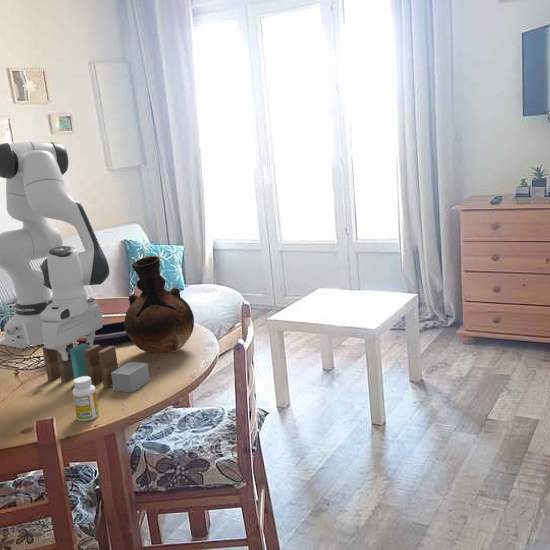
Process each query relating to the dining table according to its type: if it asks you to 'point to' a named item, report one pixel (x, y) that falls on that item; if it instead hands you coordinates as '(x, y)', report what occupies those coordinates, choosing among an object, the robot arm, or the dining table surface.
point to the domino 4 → (93, 364)
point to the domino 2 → (65, 365)
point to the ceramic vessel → (157, 312)
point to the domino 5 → (108, 364)
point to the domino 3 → (79, 361)
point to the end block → (130, 377)
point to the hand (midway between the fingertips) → (78, 353)
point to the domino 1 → (51, 363)
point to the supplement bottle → (85, 399)
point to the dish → (108, 335)
